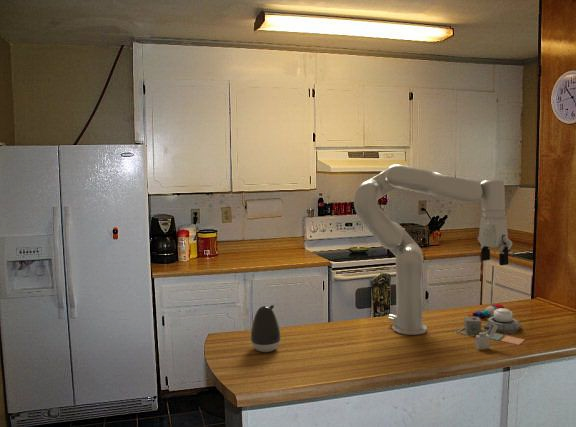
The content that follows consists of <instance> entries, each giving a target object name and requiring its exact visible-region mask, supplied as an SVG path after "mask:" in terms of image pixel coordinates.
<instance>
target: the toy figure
mask: <svg viewBox="0 0 576 427" xmlns="http://www.w3.org/2000/svg"><path fill="white" fill-rule="evenodd" d="M498 308H504V309H506V308H505V307H504V305H503V304H500V303H493V304H491V305H489V306H486V308H485V309H484V310H482V311H479V310H478V311H475V312H473V313H472V314H469V315H468V317H479V318H480V320H481V321H482V320H483V319H488V317H489V318H490V317H492V316H494V310H496V309H498Z"/></svg>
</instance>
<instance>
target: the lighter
mask: <svg viewBox="0 0 576 427" xmlns="http://www.w3.org/2000/svg"><path fill="white" fill-rule="evenodd" d="M497 327H498V326H497V325H495V324H493V323H492V324H491V326H490V328H489V330H487V331H488V333H487V334H486V333H485V332H486V331H483V332H482V331H481V333H480V334H479V335H478V334H475V336H476V337H475V349H477V350H479V351H480V350H487V349H490V339H489V338H490V336H491V337H493V336H494V334H495V333H496V332H497V331H496V330H497Z"/></svg>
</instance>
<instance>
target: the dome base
mask: <svg viewBox="0 0 576 427" xmlns="http://www.w3.org/2000/svg"><path fill="white" fill-rule="evenodd" d="M492 323H493V324H495V325H497V326H498V327H497V330H496V332H498V333H503V334H507V335H514V334H515V333H516V332H518V331H519V330H520V329H521V328H522V324H520V322H519V320H517V319H516V318H514V317H512V321H511V322H500V321H496V320H494V316H492V317H490V316H489V318H488V317H487V324H485V325H484V326H483V330H487V331H488V330H489V328H490V326H491V324H492Z"/></svg>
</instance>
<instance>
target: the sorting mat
mask: <svg viewBox="0 0 576 427" xmlns="http://www.w3.org/2000/svg"><path fill="white" fill-rule="evenodd" d="M463 330H464V327H462V328H460V329H459V330H457V331H456V333H457V334H462V335H467V336H470V337H475V338H476V334H466V332H461V331H463ZM481 331H483V332H485V333H486V334H487V333H488V330H487V329H484V328H483V329H482V328H481ZM504 336H505V334H500V333H496V332H495V334H494V336H493V337H491V336H490V338H489V340H490V339H491V340H493V341H499V340H500V339H501V338H502V339H501V340H500V342H503V343H507V344H512V345H516V346H520V345H521V344H522V343H523V342H525V338H524V339H523V338H519V337H513V336H509V335H506V336H505V337H504Z"/></svg>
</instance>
